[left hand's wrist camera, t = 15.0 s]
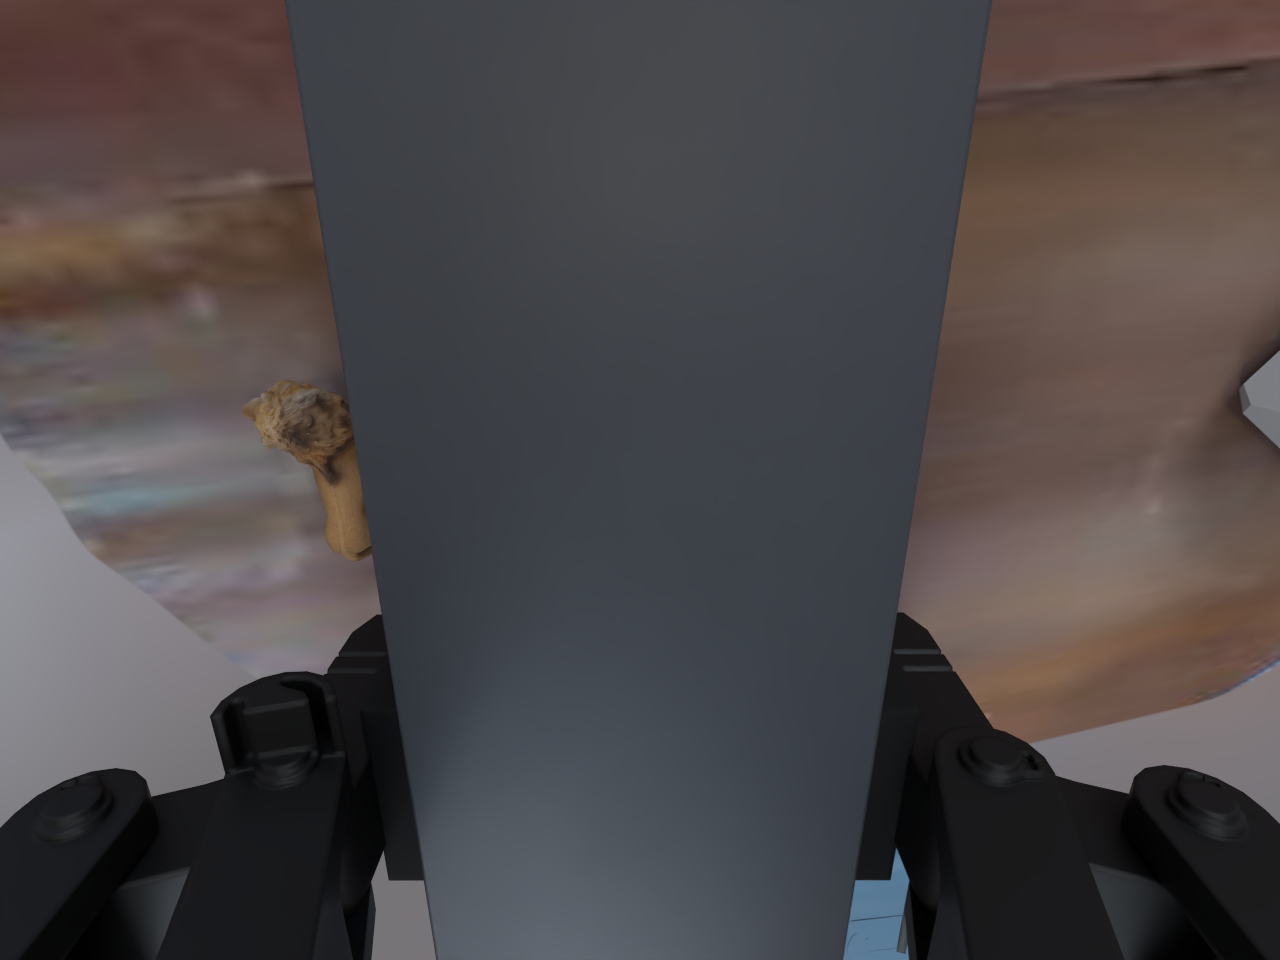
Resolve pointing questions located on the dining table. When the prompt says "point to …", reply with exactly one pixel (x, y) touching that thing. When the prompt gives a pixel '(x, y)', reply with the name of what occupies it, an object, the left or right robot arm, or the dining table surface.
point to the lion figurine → (319, 455)
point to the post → (639, 436)
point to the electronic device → (1264, 399)
